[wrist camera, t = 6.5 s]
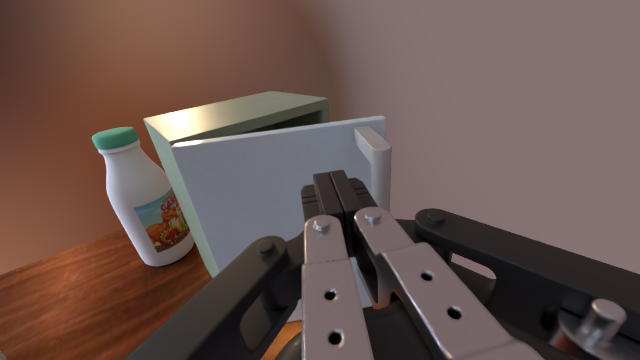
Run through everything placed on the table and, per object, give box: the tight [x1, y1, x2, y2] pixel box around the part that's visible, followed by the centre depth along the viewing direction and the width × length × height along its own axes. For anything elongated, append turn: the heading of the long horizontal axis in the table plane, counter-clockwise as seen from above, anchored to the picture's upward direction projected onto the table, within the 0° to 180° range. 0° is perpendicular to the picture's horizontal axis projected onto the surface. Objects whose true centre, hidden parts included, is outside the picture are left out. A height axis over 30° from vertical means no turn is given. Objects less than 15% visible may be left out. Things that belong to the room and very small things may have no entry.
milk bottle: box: [92, 127, 194, 266], centre depth 38 cm, size 8×8×20 cm
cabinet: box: [143, 91, 330, 278], centre depth 33 cm, size 12×16×22 cm
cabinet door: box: [170, 116, 392, 323], centre depth 22 cm, size 6×16×22 cm, turn 98°
